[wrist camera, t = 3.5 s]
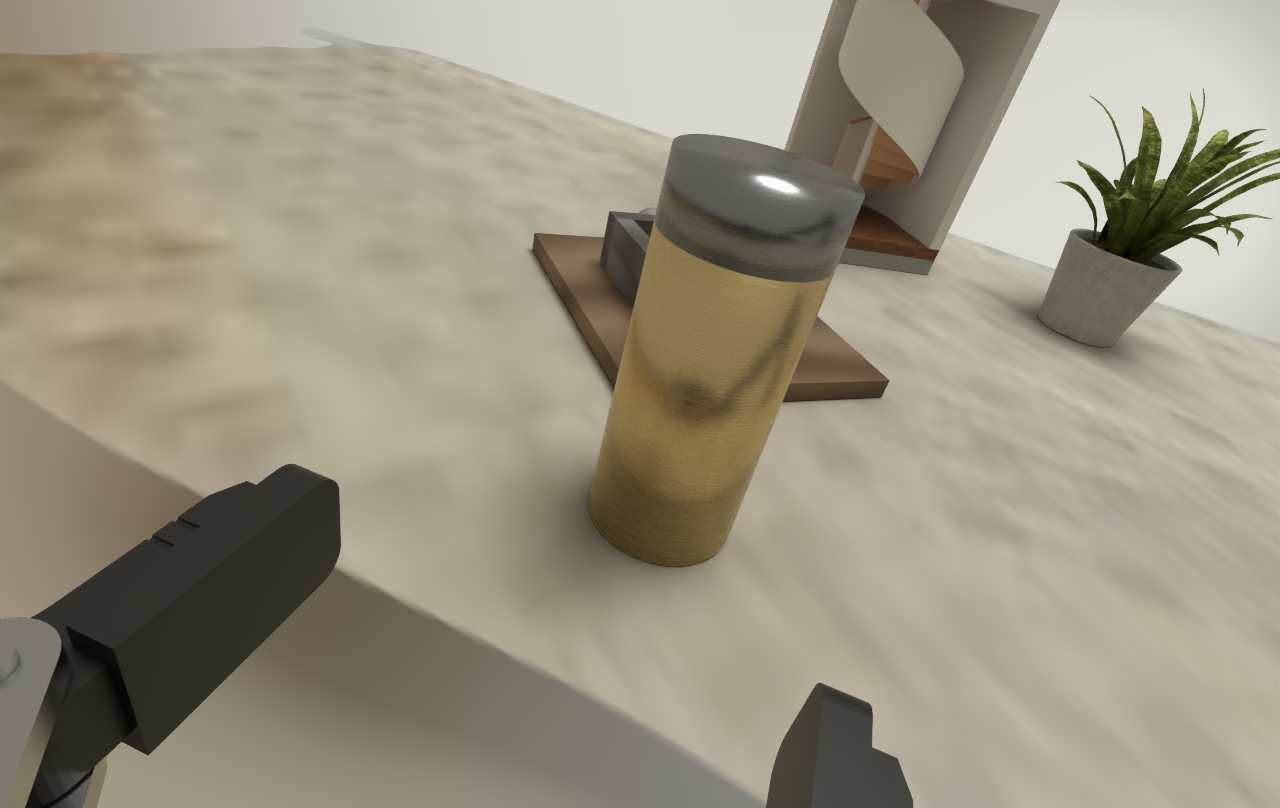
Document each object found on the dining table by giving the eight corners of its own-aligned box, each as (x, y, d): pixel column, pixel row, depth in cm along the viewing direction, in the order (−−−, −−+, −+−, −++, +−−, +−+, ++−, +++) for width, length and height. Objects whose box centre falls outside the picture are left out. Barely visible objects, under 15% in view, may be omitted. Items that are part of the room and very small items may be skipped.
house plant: (1243, 388, 47) (1444, 148, 38) (1129, 400, 41) (1338, 117, 32) (1068, 292, 57) (1196, 84, 48) (956, 290, 51) (1079, 52, 42)
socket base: (881, 396, 34) (915, 327, 32) (626, 408, 29) (647, 324, 26) (734, 260, 46) (752, 203, 44) (532, 249, 40) (541, 181, 38)
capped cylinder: (754, 555, 23) (906, 210, 16) (617, 576, 21) (729, 192, 14) (692, 459, 27) (796, 146, 20) (570, 470, 25) (643, 124, 18)
